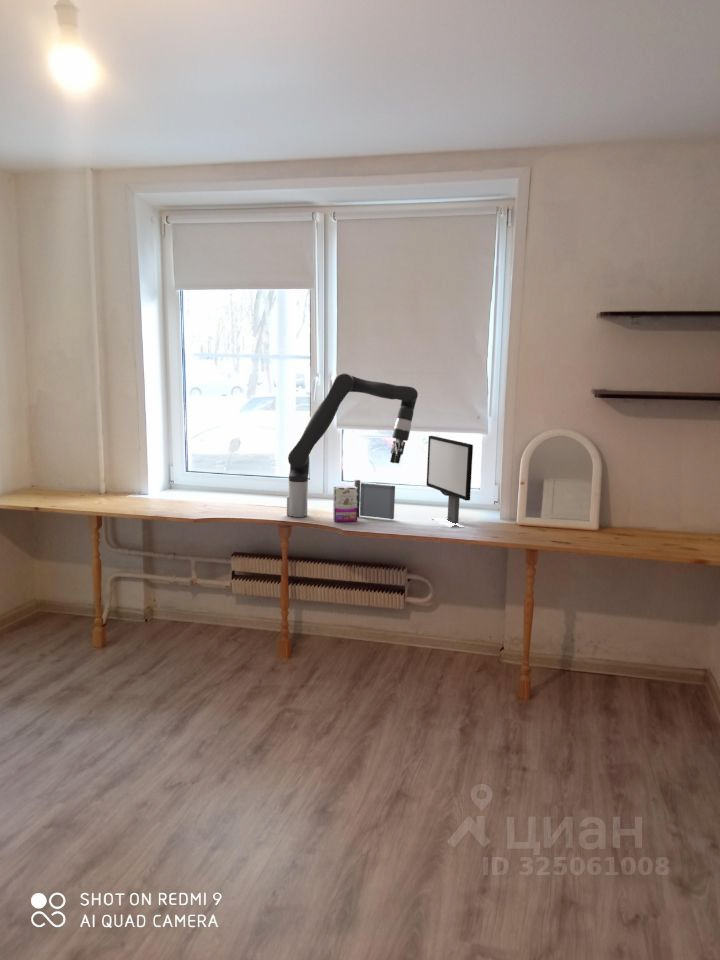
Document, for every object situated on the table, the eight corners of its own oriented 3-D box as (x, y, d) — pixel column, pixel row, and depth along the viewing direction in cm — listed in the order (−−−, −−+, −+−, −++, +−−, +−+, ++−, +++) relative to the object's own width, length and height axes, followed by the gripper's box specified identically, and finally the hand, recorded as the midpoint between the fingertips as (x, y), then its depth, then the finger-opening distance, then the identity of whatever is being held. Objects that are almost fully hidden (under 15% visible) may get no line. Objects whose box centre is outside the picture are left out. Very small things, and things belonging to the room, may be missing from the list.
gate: (359, 515, 341) (360, 483, 338) (361, 515, 342) (362, 482, 340) (392, 519, 335) (393, 486, 332) (393, 518, 336) (395, 485, 334)
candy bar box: (355, 519, 335) (356, 486, 333) (357, 521, 331) (358, 487, 328) (332, 519, 333) (333, 486, 331) (334, 522, 328) (335, 488, 326)
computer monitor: (421, 514, 352) (424, 435, 346) (436, 513, 355) (439, 435, 348) (460, 533, 314) (465, 444, 308) (476, 532, 317) (481, 444, 311)
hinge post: (352, 516, 342) (353, 480, 339) (354, 515, 344) (355, 479, 342) (357, 517, 341) (359, 481, 338) (360, 516, 343) (361, 480, 340)
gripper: (391, 427, 334) (383, 460, 334) (398, 427, 320) (390, 461, 320) (405, 431, 335) (398, 464, 335) (413, 430, 321) (405, 465, 321)
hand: (394, 462), depth 328 cm, fingers open, 8 cm apart
